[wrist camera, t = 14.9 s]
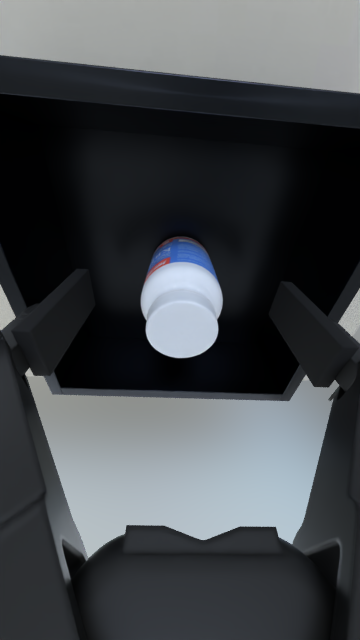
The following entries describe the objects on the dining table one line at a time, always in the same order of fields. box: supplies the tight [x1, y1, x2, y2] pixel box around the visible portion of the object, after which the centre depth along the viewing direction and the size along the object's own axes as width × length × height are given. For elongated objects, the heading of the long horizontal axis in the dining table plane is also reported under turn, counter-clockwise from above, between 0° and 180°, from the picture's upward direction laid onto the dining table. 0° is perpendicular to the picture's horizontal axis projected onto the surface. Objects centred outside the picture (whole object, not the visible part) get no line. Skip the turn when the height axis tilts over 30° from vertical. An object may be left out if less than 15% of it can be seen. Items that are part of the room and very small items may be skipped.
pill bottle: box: [141, 237, 223, 358], centre depth 15 cm, size 6×5×10 cm
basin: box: [0, 55, 360, 401], centre depth 17 cm, size 22×20×8 cm
